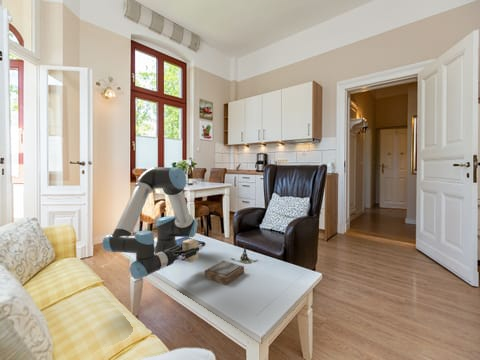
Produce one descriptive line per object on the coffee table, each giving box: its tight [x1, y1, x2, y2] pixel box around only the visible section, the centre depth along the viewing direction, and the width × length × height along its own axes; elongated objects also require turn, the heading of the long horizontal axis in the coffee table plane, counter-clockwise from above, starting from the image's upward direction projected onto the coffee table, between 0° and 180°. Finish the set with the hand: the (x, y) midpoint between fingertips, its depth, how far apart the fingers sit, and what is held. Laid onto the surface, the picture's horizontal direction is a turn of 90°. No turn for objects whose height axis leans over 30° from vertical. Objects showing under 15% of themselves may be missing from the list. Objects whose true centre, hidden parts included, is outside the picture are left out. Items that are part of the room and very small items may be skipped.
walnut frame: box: [204, 260, 245, 286], centre depth 124 cm, size 14×16×4 cm
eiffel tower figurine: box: [230, 240, 258, 265], centre depth 145 cm, size 15×10×13 cm
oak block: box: [181, 238, 199, 263], centre depth 127 cm, size 6×6×10 cm
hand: (196, 245), depth 132 cm, fingers closed on oak block, 6 cm apart
